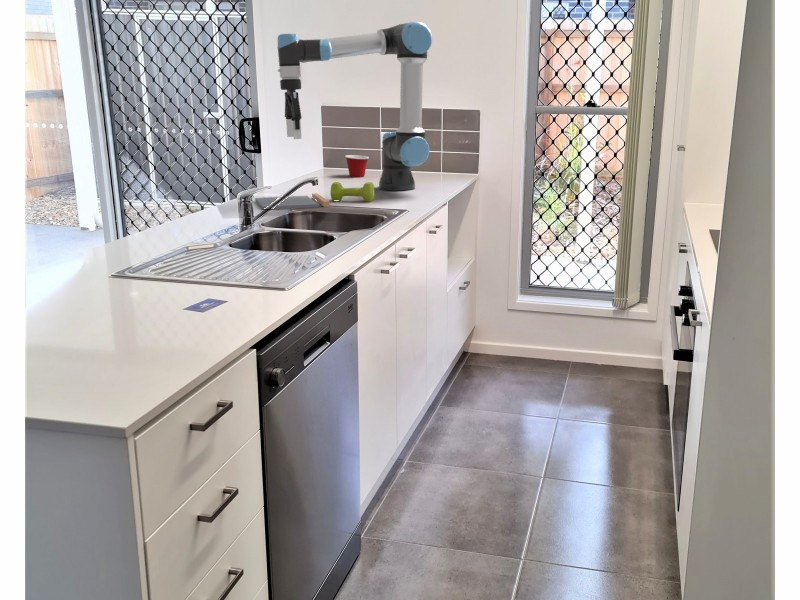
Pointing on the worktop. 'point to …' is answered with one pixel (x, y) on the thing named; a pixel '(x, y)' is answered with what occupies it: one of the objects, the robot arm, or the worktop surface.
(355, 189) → the dumbbell
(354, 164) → the plastic cup
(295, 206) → the board
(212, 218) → the worktop surface
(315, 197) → the strip
